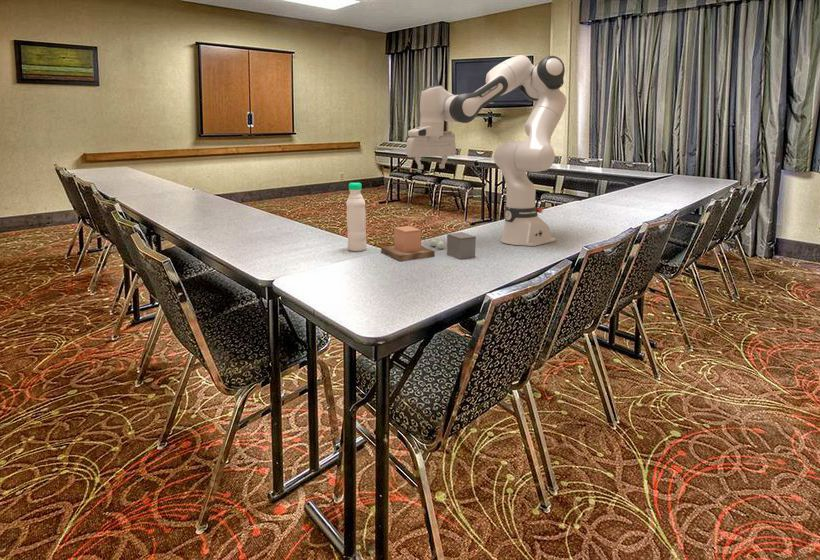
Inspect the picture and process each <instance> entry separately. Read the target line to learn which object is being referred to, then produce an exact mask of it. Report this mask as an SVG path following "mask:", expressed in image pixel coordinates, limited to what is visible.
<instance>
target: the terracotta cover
mask: <svg viewBox="0 0 820 560" xmlns="http://www.w3.org/2000/svg"><path fill="white" fill-rule="evenodd" d="M393 241H394V242H393V246H394V248H396V249H398V250H401V251H403V252H413V251H420V250H421V246H422V229H419V228H417V227H413V226H410V225H406V226H396V227H394V228H393Z"/></svg>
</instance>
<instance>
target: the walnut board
mask: <svg viewBox="0 0 820 560" xmlns="http://www.w3.org/2000/svg"><path fill="white" fill-rule="evenodd" d="M380 252H381V254H383V253H385V254H384V255H386V256H388V255H389V256H388V257H390V256H391V257H390V258H392V257H393V258H392V259H394V258H395V259H394V260H396V259H397V261H398V260H399V262H403V261H402V260H406V261H411V259H413V260H418V258H420V259H425V257H427V258H433V257H432V256H434V257H435V256H436V255H435V253H436V252H435V250H432V249H431V248H428V247H425V246H422V245H421V250H420V251H413V252H403V251H401V250H398V249H396V248H394V245H389V246H380Z"/></svg>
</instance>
